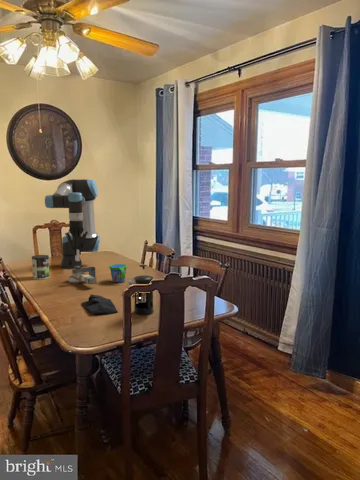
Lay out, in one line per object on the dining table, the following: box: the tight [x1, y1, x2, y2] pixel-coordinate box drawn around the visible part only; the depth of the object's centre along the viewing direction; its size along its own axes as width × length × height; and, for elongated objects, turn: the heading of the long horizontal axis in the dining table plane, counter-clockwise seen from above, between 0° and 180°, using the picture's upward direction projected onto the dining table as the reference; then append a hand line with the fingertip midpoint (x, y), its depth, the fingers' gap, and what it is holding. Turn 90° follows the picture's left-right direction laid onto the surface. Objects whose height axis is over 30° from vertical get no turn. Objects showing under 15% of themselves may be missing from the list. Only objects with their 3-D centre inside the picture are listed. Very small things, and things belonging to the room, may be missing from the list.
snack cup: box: [108, 263, 128, 284], centre depth 234 cm, size 16×10×10 cm
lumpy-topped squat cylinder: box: [128, 277, 146, 296], centre depth 211 cm, size 10×13×9 cm
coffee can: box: [31, 254, 50, 280], centre depth 241 cm, size 10×10×14 cm
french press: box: [133, 264, 154, 316], centre depth 177 cm, size 12×9×23 cm
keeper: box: [71, 266, 97, 279], centre depth 230 cm, size 14×3×9 cm, turn 126°
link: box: [71, 266, 98, 285], centre depth 226 cm, size 25×6×6 cm, turn 39°
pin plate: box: [68, 275, 85, 284], centre depth 234 cm, size 11×11×2 cm
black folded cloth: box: [81, 294, 118, 315], centre depth 185 cm, size 15×22×5 cm
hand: (77, 260), depth 216 cm, fingers closed
